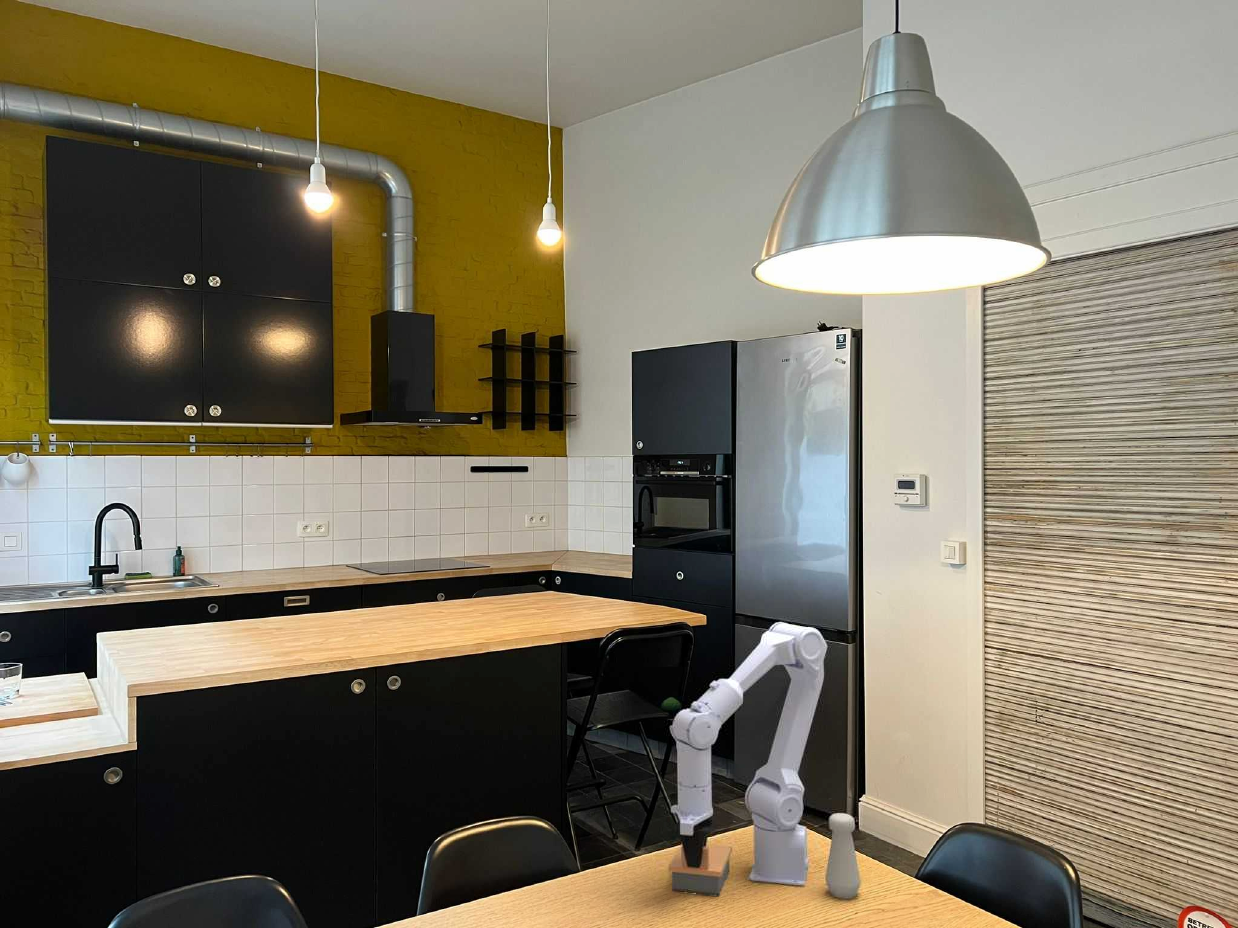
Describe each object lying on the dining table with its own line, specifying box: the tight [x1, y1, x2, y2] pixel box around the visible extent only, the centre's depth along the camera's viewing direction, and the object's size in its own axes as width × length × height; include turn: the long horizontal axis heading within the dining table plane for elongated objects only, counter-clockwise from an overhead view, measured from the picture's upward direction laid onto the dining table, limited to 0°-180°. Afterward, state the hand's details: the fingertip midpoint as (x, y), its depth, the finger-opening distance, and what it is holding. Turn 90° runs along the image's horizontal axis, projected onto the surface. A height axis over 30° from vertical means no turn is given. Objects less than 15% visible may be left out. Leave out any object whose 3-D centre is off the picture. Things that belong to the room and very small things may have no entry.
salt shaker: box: [825, 812, 862, 900], centre depth 156 cm, size 6×6×13 cm
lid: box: [667, 843, 733, 877], centre depth 161 cm, size 9×12×5 cm
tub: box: [671, 859, 730, 897], centre depth 161 cm, size 8×11×4 cm
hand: (695, 863), depth 156 cm, fingers open, 2 cm apart
